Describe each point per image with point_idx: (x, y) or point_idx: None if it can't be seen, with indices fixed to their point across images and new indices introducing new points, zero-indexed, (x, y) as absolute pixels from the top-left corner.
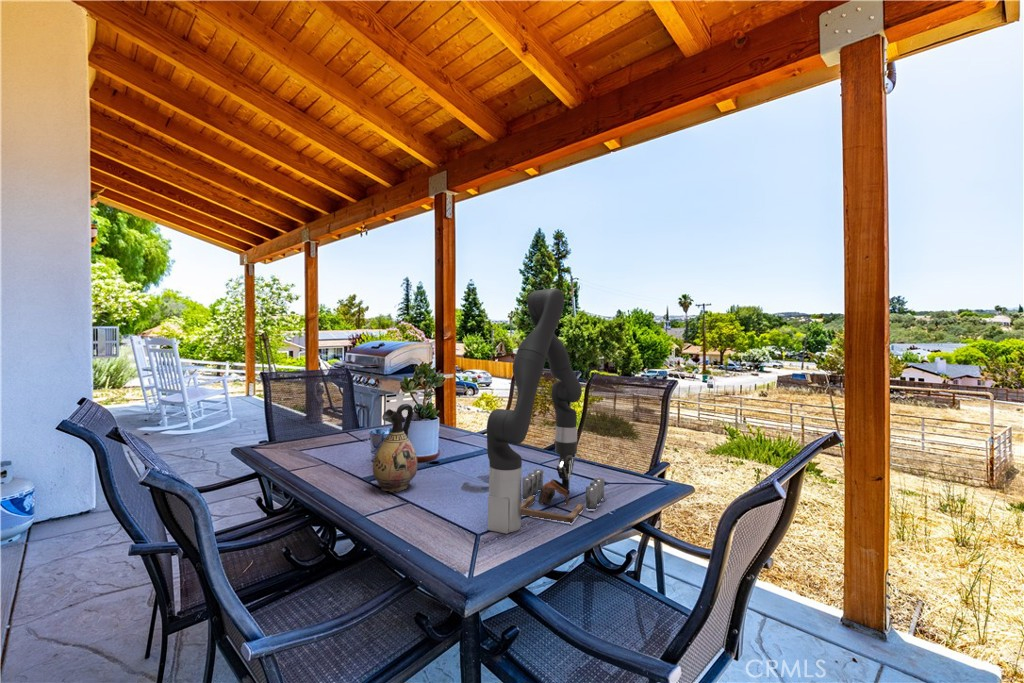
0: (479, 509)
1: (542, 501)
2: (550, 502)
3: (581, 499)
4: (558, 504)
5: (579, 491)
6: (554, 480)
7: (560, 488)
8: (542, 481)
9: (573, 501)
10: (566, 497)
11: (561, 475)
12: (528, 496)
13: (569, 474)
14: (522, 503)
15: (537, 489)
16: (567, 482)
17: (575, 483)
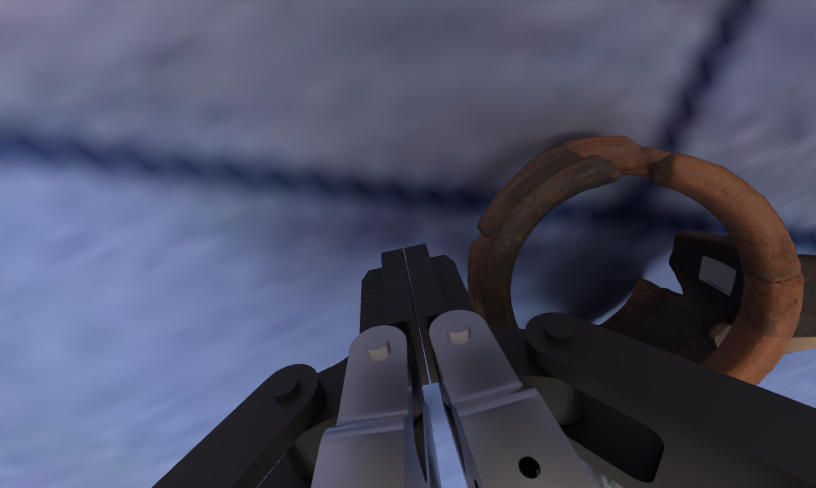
0: None
1: (661, 289)
2: (688, 233)
3: (362, 91)
4: (592, 196)
5: (177, 216)
6: None
7: (776, 232)
8: None
9: (461, 130)
10: (638, 148)
11: (581, 415)
12: None
13: (404, 375)
14: (810, 342)
15: None
16: (439, 296)
17: (36, 336)
